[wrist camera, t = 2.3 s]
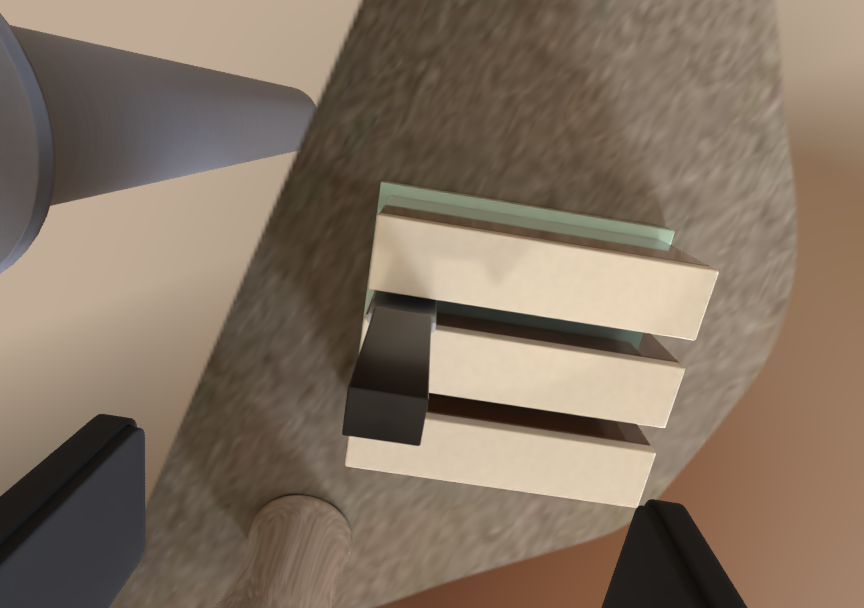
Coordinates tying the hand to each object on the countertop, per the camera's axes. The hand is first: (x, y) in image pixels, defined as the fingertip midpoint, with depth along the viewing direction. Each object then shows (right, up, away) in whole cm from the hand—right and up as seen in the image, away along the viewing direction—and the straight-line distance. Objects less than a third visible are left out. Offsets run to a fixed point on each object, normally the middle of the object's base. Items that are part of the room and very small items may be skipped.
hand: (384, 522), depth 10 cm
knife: (0, +6, +16) cm, 17 cm away
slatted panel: (+4, +3, +18) cm, 19 cm away
